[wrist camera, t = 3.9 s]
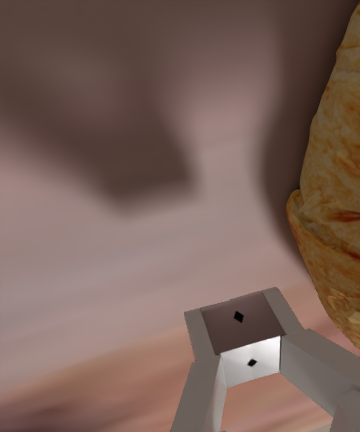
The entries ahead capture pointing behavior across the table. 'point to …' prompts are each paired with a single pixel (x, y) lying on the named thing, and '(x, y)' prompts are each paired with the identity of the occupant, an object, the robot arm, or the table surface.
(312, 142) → the croissant
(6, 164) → the table surface
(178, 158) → the table surface
